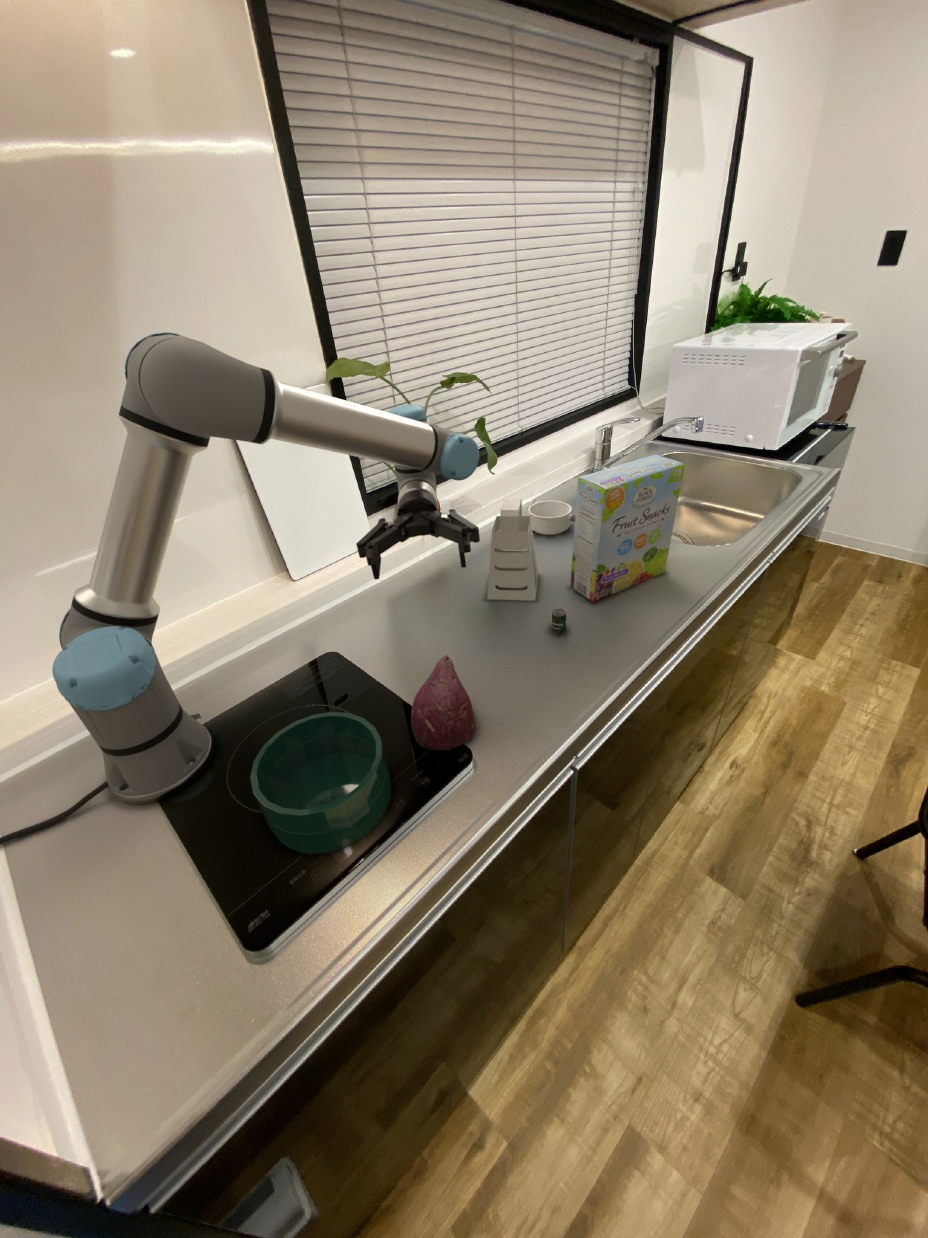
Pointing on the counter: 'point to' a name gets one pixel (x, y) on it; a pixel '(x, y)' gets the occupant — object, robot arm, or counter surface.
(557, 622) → the beer can
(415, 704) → the vegetable
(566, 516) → the saucepan
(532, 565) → the grater
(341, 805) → the pot
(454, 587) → the counter surface
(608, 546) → the snack box
